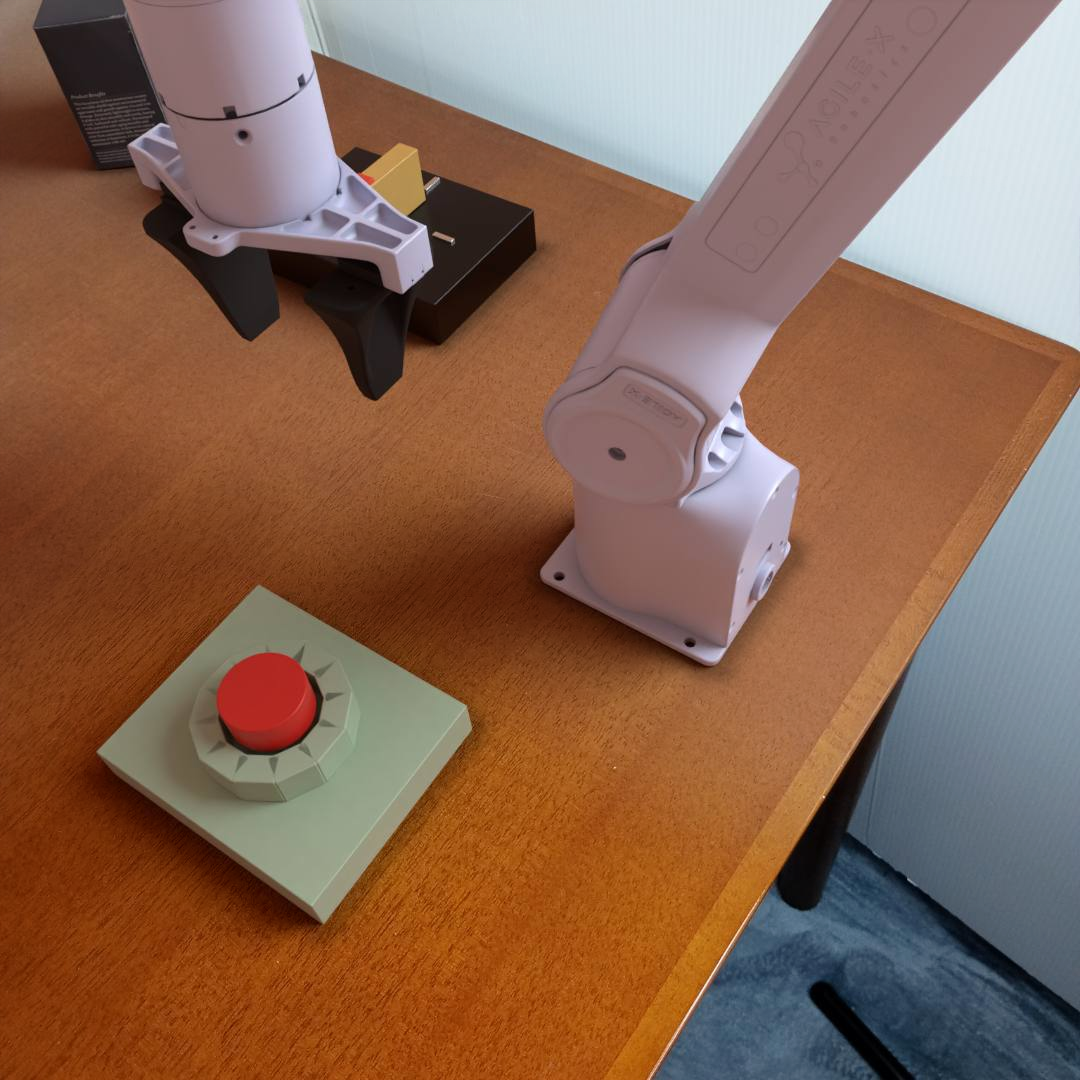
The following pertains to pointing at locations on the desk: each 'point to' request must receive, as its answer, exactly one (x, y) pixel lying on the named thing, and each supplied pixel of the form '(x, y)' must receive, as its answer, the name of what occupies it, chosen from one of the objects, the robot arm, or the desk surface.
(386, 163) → the thumb turn
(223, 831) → the alarm block
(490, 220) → the plate
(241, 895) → the desk surface
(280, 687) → the alarm button
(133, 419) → the desk surface
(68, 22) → the small box
